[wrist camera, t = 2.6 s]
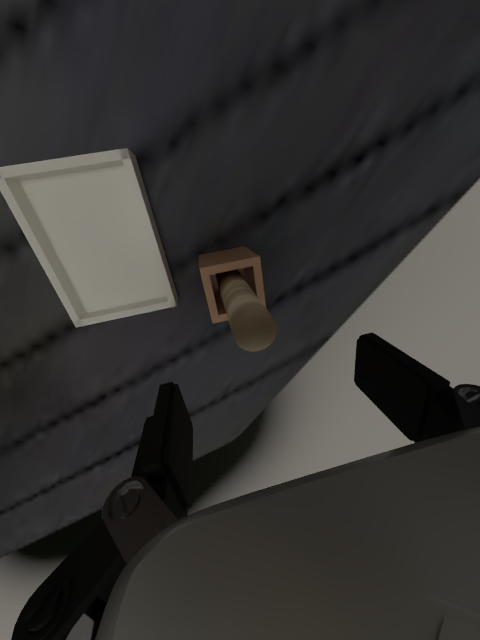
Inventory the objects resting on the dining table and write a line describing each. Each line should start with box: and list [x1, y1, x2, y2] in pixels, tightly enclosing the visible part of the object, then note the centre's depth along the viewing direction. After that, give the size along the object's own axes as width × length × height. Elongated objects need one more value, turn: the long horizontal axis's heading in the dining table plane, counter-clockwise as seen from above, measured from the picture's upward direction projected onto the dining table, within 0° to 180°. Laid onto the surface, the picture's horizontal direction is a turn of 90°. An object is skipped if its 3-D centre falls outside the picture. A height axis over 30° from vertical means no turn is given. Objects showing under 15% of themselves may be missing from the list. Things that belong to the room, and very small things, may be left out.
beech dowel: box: [215, 269, 277, 352], centre depth 22 cm, size 3×3×16 cm
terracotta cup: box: [199, 246, 266, 323], centre depth 27 cm, size 6×6×8 cm
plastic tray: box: [0, 148, 178, 327], centre depth 25 cm, size 16×12×3 cm
